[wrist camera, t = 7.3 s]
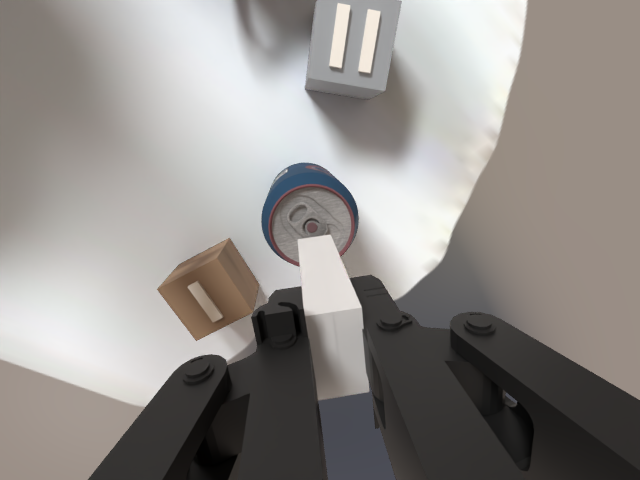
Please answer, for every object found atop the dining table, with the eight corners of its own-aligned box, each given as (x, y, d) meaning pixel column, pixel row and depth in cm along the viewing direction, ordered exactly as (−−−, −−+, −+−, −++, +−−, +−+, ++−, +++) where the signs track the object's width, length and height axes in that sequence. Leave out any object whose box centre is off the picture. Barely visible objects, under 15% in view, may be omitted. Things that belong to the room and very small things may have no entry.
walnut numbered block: (211, 308, 36) (195, 342, 30) (179, 263, 34) (155, 290, 28) (259, 284, 35) (252, 313, 29) (229, 237, 34) (216, 259, 28)
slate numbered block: (304, 89, 30) (308, 77, 24) (313, 14, 28) (319, -19, 22) (367, 99, 31) (386, 90, 25) (380, 27, 29) (403, -1, 23)
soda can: (352, 197, 33) (385, 228, 22) (304, 243, 34) (310, 295, 23) (305, 146, 32) (313, 151, 20) (255, 196, 33) (236, 228, 21)
